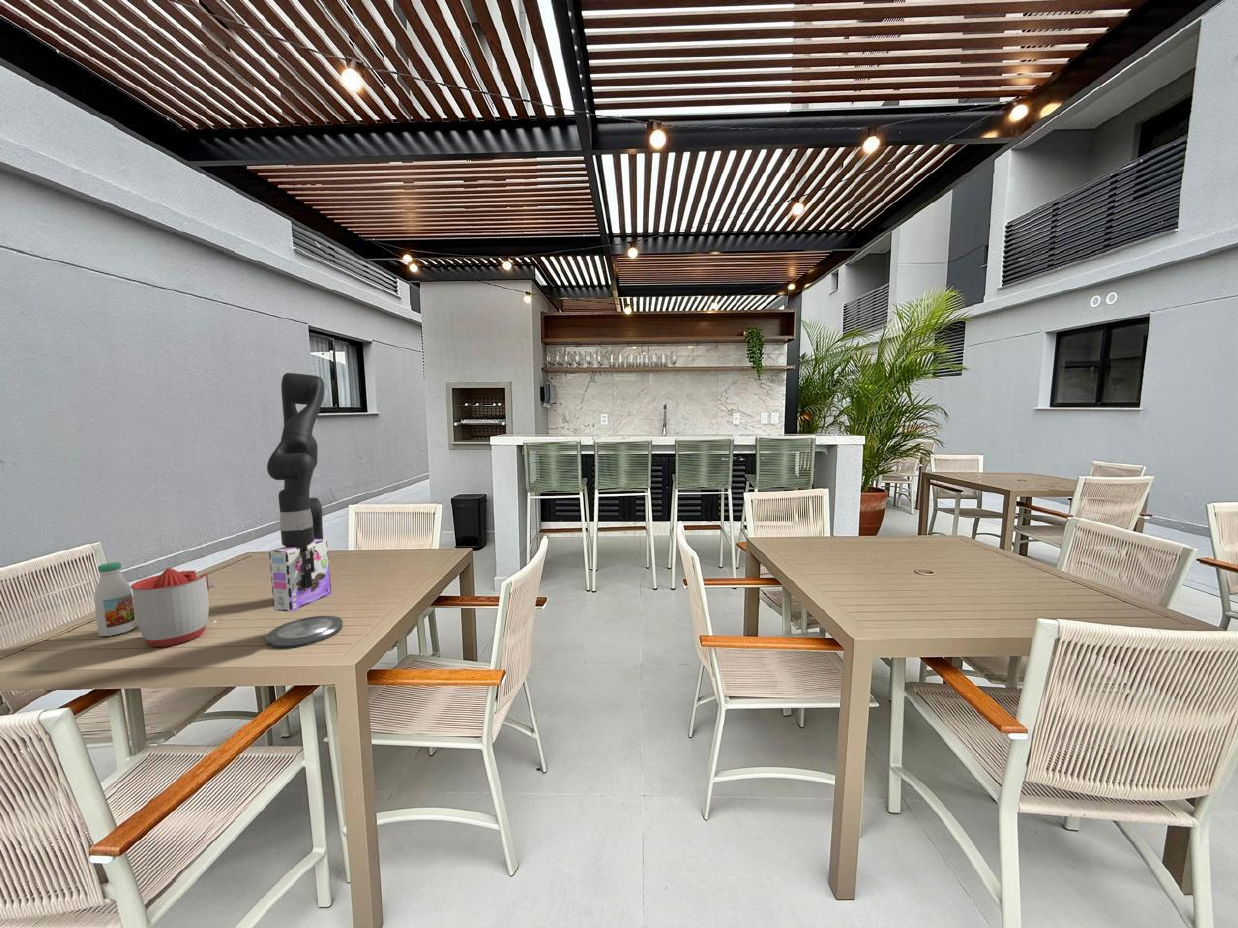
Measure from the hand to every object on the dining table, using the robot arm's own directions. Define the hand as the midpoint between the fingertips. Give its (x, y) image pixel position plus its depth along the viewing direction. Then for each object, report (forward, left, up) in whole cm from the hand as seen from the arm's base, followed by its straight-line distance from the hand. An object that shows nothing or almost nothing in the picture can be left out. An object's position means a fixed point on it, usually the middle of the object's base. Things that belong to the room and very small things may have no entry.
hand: (302, 584), depth 139 cm
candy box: (0, 0, -5) cm, 5 cm away
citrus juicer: (-26, -23, -14) cm, 38 cm away
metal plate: (0, 0, -14) cm, 14 cm away
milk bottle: (-46, -34, -14) cm, 59 cm away
